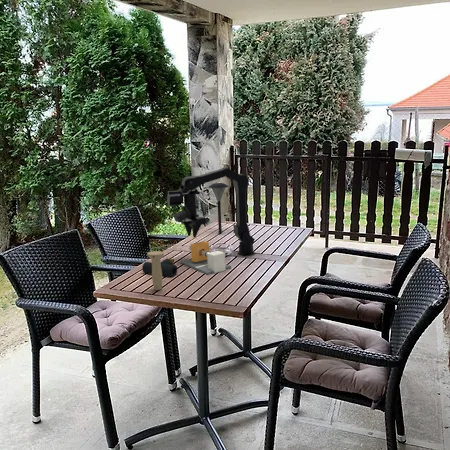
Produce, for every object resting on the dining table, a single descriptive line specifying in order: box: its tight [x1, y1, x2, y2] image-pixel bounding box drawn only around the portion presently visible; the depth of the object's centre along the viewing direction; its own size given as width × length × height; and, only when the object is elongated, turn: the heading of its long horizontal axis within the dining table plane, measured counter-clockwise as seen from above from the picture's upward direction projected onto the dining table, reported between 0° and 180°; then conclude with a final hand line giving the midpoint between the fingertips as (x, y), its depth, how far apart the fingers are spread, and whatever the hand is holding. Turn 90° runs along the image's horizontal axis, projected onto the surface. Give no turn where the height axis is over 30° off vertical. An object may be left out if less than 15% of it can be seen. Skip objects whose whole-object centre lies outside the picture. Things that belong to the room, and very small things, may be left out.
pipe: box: [188, 245, 210, 257], centre depth 205 cm, size 2×21×2 cm, turn 37°
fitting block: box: [207, 250, 226, 274], centre depth 197 cm, size 6×5×8 cm
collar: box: [190, 240, 210, 262], centre depth 207 cm, size 8×3×8 cm, turn 126°
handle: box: [146, 250, 165, 291], centre depth 177 cm, size 5×6×15 cm
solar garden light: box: [207, 182, 230, 235], centre depth 261 cm, size 12×12×30 cm
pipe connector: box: [141, 257, 178, 278], centre depth 199 cm, size 12×5×15 cm
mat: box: [180, 258, 232, 275], centre depth 205 cm, size 13×22×1 cm, turn 36°
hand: (191, 236), depth 211 cm, fingers open, 4 cm apart
